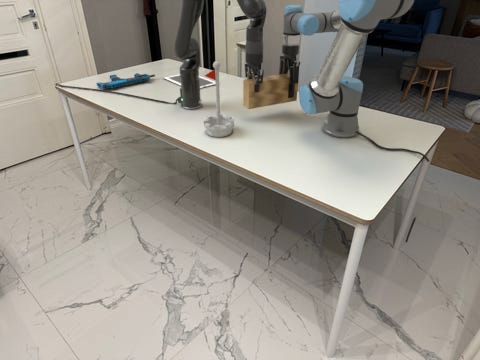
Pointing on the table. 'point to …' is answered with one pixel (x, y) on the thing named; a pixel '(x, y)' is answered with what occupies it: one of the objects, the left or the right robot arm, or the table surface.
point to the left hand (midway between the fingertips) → (253, 89)
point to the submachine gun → (124, 81)
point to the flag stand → (218, 111)
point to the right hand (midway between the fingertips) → (287, 95)
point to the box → (268, 91)
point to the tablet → (203, 81)
